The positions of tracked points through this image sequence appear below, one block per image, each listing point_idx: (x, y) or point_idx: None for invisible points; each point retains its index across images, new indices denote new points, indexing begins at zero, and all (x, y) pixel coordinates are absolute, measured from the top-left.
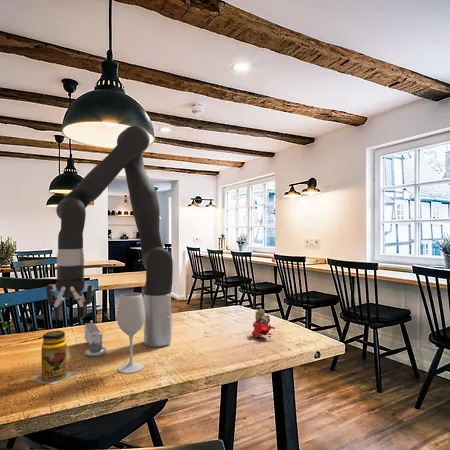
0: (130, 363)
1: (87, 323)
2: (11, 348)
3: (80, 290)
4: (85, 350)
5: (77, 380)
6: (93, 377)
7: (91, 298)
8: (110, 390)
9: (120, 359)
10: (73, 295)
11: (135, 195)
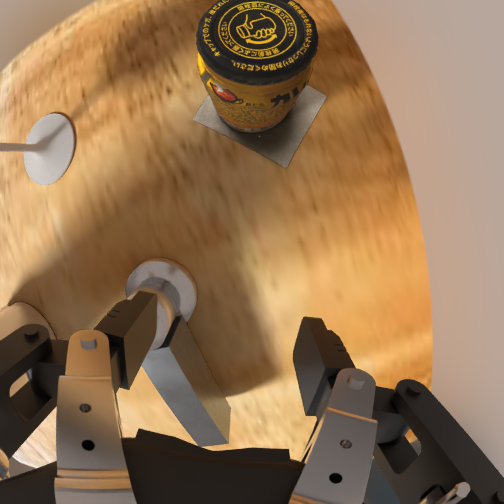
0: (39, 141)
1: (219, 443)
2: (419, 368)
3: (31, 470)
4: (194, 301)
5: (174, 69)
6: (131, 87)
7: (20, 393)
8: (93, 24)
9: (78, 223)
10: (142, 450)
11: None
